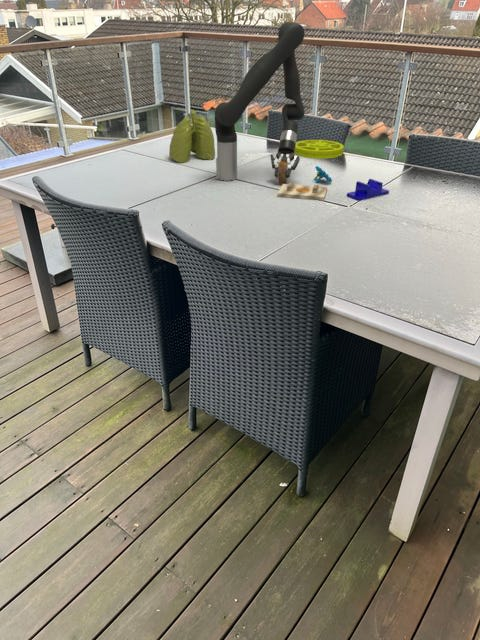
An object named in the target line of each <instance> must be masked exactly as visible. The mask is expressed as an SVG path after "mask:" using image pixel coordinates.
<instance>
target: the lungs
mask: <svg viewBox="0 0 480 640" xmlns="http://www.w3.org/2000/svg"><path fill="white" fill-rule="evenodd" d="M189 113H190V116H189V115H186V116H184V118H183V119H182V120H181V121H180V122H179V123H178V124H177V125H176V127H175V128H174V129H173V134H172V137H171V140H170V143H169V151H168V152H169V153H168V154H169V155H168V156H169V157H170V158H171V159H172V160H173V161H175V162H177V163H181V164H185V163H184V162H186V163H189V162H190V160H191V153H193V154H195V156H196V158H199V159H203V160H206V159H207V160H209V161H211V160H213V159H214V158H215V157H216V148H215V137H214V132H213V130H212V127H211V125H210V124H209V122H208V120H207V119H206V118H205V117H204V115H202V114H198V115H197V111H196V110H195V109H190V112H189ZM188 161H189V162H188Z"/></svg>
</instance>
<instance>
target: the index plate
mask: <svg viewBox="0 0 480 640" xmlns="http://www.w3.org/2000/svg"><path fill="white" fill-rule="evenodd" d="M327 192H328V187H327V186H319V184H313V185H301V184H294V182H289V183H287V184H283V185H282V186H280V188H279V189H278V191H277V193H276V197H277V198H288V199H301V200H313V201H314V200H315V201H325V199H326V195H327Z"/></svg>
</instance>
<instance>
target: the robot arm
mask: <svg viewBox="0 0 480 640" xmlns="http://www.w3.org/2000/svg"><path fill="white" fill-rule="evenodd" d="M277 37H278V39H277V40H278V41H277V43H276V44H275V45H274V46H273V47H272V48H271V49H270V50H269V51H268V52H266V53H265V54H263V55H262V56H261V57H260V58H259V59H258V60H256V61H255V62H254V64H253V65H252V66H251V67H250V68H249V70H248V71H247V72H246V74H245V76H244V77H243V80H242V81H241V84H240V87H239V88H238V91H237V92H236V93H235V95H234V96H233V97H232V98H231V100H230V101H228V102H227V101H222V102H220V103H218V105H216V107H215V110H214V127H215V128H214V129H215V131H214V132H215V134H216V150H217V151H216V153H217V155H216V157H217V158H216V159H215V168H216V176H215V177H216V180H219V179H220V180H219V181H223V180H224V181H225V182H228V181H229V182H230V181H231V180H232V181H235V179H236V180H237V179H238V135H237V132H236V128H235V127H236V126H235V124H237V123H238V122H239V120H240V119H241V117H242V115H243V113H244V112H245V110H247V108H248V106H249V105H250V104H251V103H252V101H253V100H255V98H256V97H257V96H258V95H259V93H260V92H261V91H262V89H263V88H264V87H265V86H266V85H267V84H268V83H269V81H270V80H271V79H272V77H273V76H274V75H275V74H276V73H277V71H278V70H279V68H280V67H281V66H282V67H283V68H282V70H283V79H284V81H283V82H284V97H285V98H286V99H288V100H291V101H294V103H286V104H284V105H283V107H282V109H281V116H282V129H281V135H280V137H279V144H278V147H277V148H278V149H277V153H276V154H274V155H273V154H272V153H271V154H270V163H271V168H272V169H273V170H274V173H273V174H274V176H275V178H278V168H279V162H280V161H286V162H288V166H287V175H286V177H287V179H289V178H290V177H291V172H292V171H295V170H296V169H297V167H298V165H299V163H300V161H301V156H298V155H296V154H294V152H295V146H296V142H297V137H298V130H299V125H298V122H296V121H300V120H303V118H304V117H305V114H306V113H305V112H306V111H305V106H304V104H303V103H304V102H303V100H302V96H301V95H302V94H301V79H300V73H299V69H298V65H297V61H296V60H297V59H296V53H295V52H296V51H295V50H297V49H298V47H300V45H302V43H303V41H304V39H305V28H304V26H303V25H302V24H300V23H298V22H292V21H287V22H284V23H282V24H281V25H280V27H279V29H278V33H277ZM276 159H277V162H276V164H275V160H276ZM292 161H294V162H293V164H292V165H291V163H292Z"/></svg>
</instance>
